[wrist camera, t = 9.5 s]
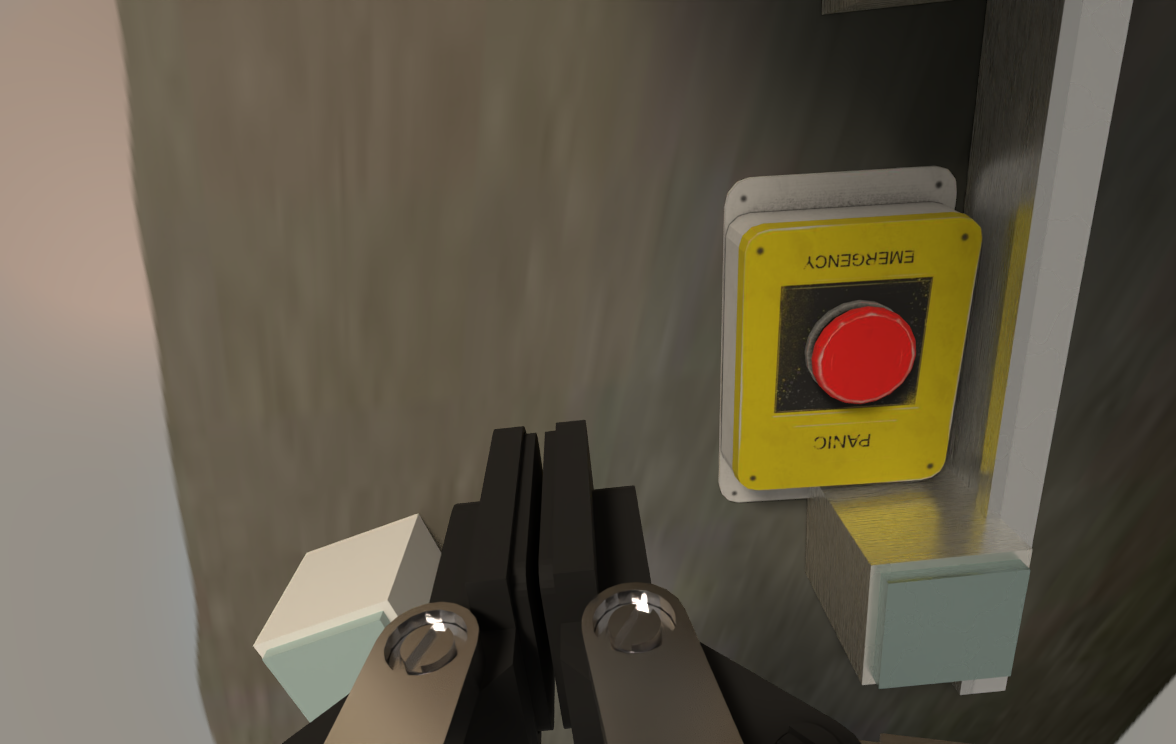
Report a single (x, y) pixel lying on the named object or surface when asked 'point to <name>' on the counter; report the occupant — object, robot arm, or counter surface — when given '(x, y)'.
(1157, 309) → the counter surface
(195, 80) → the counter surface
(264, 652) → the block
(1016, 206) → the rail fixture
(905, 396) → the emergency button
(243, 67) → the counter surface
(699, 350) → the counter surface
